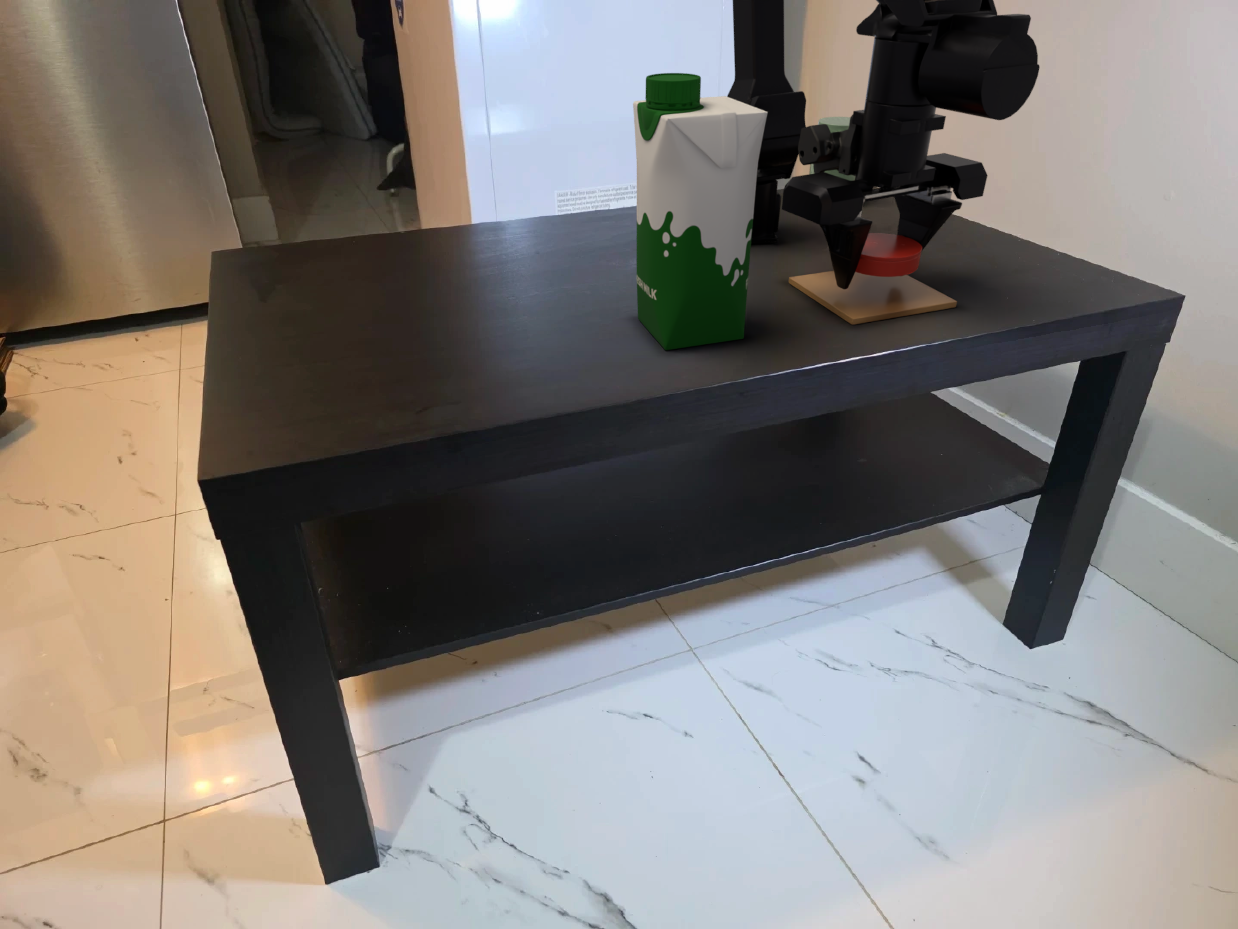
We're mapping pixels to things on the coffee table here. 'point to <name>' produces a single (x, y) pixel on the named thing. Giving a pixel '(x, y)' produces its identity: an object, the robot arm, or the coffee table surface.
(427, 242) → the coffee table surface
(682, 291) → the milk carton
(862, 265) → the lid
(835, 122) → the jar
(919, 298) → the coaster
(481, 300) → the coffee table surface
